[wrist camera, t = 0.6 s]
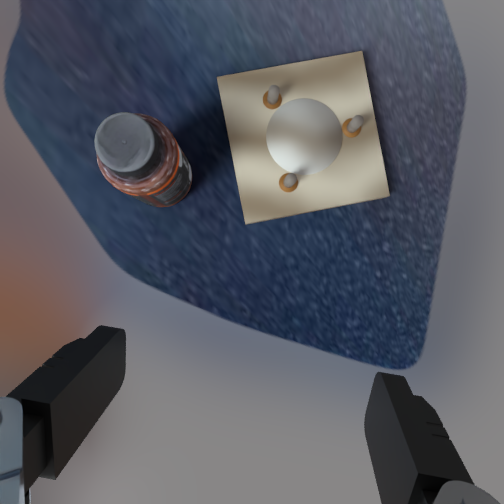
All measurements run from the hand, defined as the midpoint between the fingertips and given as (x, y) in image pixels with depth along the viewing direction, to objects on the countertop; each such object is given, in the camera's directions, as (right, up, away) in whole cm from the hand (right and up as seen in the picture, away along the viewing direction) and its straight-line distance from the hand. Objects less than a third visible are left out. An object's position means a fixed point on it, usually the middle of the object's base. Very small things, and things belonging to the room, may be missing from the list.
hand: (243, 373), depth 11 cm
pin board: (+5, +15, +24) cm, 29 cm away
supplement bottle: (-8, +11, +24) cm, 27 cm away
